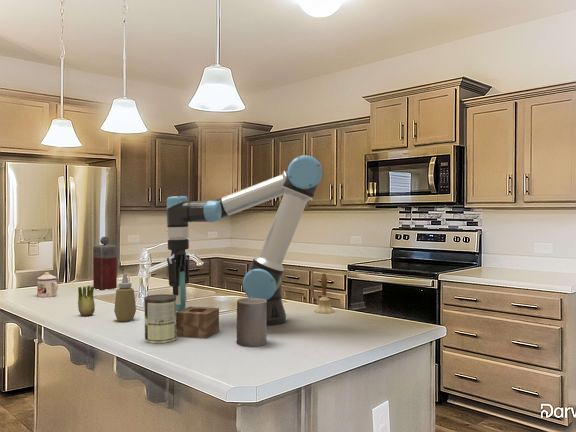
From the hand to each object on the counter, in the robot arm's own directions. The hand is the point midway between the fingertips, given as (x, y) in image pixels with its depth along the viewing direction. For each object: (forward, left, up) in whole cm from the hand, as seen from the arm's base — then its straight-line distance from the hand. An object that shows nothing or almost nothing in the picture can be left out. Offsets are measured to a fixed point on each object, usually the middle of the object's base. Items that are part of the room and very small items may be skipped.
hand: (179, 302), depth 188 cm
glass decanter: (+82, -73, -9) cm, 110 cm away
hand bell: (-45, -42, -9) cm, 62 cm away
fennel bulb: (+46, -9, -9) cm, 47 cm away
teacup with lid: (+93, -44, -9) cm, 103 cm away
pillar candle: (-32, +14, -9) cm, 36 cm away
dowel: (0, 0, -3) cm, 3 cm away
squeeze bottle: (+26, -5, -9) cm, 28 cm away
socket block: (-10, +7, -9) cm, 15 cm away
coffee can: (-2, +18, -9) cm, 20 cm away
